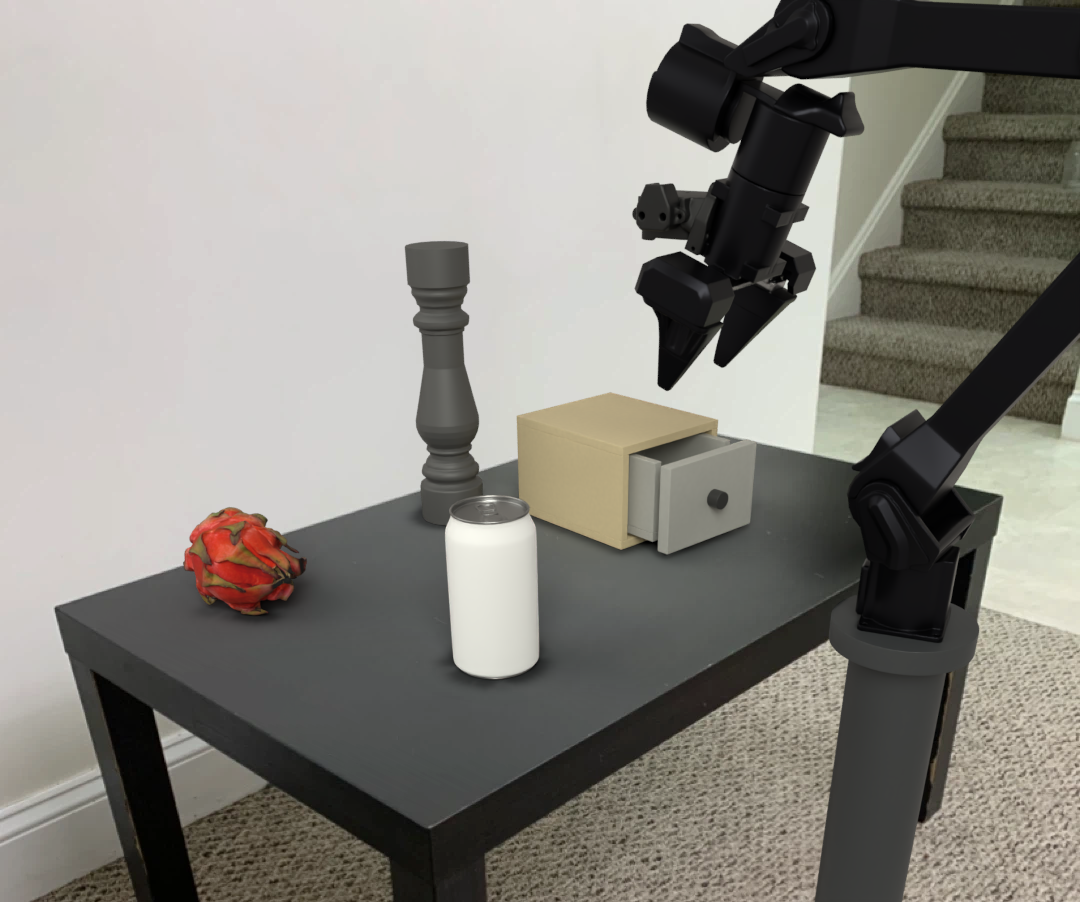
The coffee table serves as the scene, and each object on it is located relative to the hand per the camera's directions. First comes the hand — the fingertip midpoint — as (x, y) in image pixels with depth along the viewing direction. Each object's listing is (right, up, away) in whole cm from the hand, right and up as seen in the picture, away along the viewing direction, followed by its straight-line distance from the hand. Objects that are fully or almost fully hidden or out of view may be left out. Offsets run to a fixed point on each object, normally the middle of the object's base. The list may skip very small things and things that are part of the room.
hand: (692, 376), depth 89 cm
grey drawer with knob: (-1, -9, +15) cm, 18 cm away
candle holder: (-21, -8, +20) cm, 30 cm away
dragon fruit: (-37, -18, +3) cm, 41 cm away
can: (-16, -24, -7) cm, 29 cm away
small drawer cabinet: (-5, -7, +20) cm, 22 cm away
